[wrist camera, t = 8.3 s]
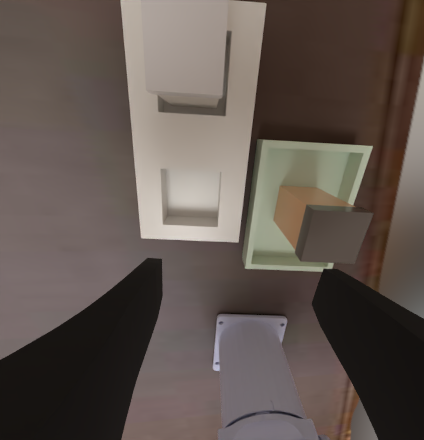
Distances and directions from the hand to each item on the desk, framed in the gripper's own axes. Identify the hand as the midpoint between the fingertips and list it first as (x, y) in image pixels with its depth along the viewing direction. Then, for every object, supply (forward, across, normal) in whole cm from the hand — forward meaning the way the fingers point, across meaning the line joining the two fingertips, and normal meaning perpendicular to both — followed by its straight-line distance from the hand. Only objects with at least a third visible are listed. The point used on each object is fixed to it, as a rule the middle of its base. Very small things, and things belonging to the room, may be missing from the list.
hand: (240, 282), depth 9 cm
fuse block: (+10, +3, -5) cm, 12 cm away
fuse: (+10, +3, -9) cm, 14 cm away
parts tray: (+10, -6, 0) cm, 12 cm away
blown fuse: (+10, -6, -1) cm, 11 cm away
